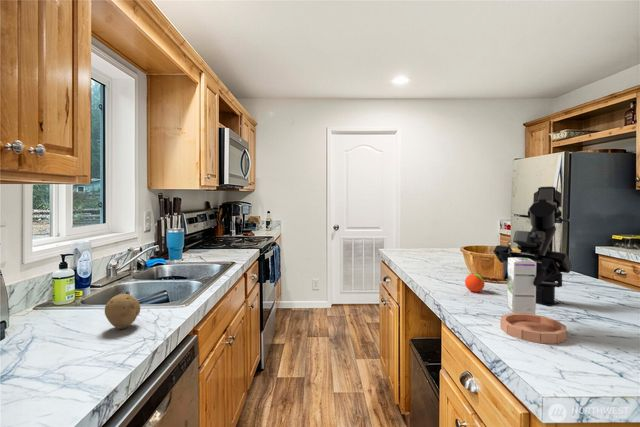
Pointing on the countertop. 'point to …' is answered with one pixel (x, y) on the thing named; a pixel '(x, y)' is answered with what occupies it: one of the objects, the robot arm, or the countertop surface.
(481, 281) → the clementine
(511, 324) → the terracotta dish
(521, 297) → the syrup box
